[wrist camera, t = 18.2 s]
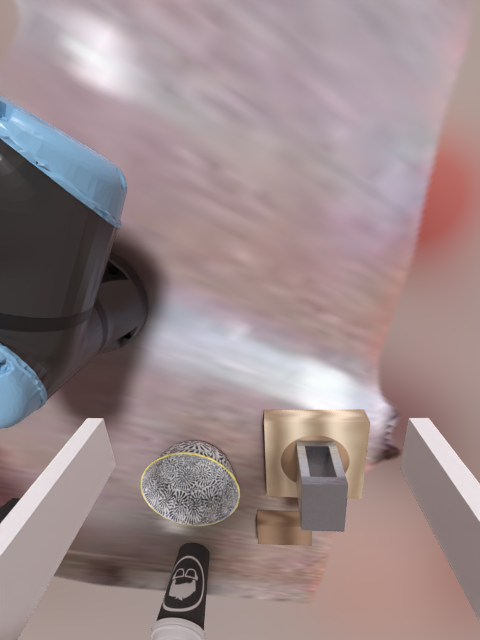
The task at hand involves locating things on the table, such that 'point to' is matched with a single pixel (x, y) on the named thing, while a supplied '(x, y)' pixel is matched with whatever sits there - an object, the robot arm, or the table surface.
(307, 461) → the housing
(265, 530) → the stand
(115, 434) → the table surface
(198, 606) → the coffee cup
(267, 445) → the plate
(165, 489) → the bowl
